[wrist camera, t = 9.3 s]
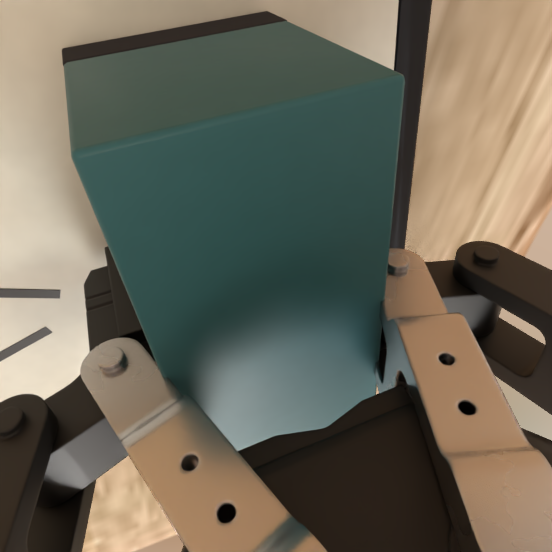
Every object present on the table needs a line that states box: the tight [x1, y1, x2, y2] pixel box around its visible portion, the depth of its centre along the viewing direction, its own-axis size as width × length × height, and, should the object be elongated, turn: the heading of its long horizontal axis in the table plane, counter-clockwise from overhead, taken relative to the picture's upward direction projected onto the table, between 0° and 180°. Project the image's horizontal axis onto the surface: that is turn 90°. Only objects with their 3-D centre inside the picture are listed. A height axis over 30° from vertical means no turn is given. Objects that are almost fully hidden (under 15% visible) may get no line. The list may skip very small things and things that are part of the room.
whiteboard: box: [0, 0, 432, 402], centre depth 13 cm, size 16×22×1 cm
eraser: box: [62, 11, 405, 451], centre depth 11 cm, size 11×5×6 cm, turn 6°
